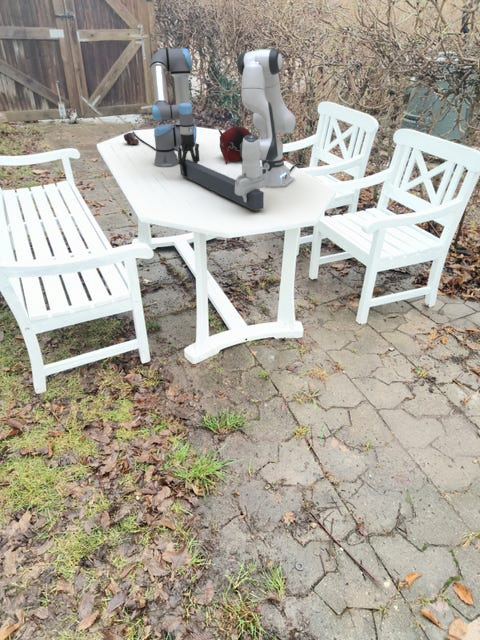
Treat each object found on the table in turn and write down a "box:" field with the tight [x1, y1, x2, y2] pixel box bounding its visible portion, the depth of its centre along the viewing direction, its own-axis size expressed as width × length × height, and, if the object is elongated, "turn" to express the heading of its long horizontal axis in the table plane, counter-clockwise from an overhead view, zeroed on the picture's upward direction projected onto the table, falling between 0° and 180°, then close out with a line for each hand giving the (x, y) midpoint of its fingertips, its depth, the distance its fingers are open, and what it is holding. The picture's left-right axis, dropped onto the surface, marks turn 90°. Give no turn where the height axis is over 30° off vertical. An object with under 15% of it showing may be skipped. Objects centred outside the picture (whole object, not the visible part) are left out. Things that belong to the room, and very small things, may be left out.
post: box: [179, 158, 265, 212], centre depth 243 cm, size 74×6×8 cm, turn 35°
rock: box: [123, 132, 140, 145], centre depth 336 cm, size 12×9×10 cm
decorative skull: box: [218, 126, 253, 165], centre depth 296 cm, size 21×24×25 cm
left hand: (189, 175), depth 266 cm, fingers closed on post, 6 cm apart
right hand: (250, 199), depth 223 cm, fingers closed on post, 6 cm apart
